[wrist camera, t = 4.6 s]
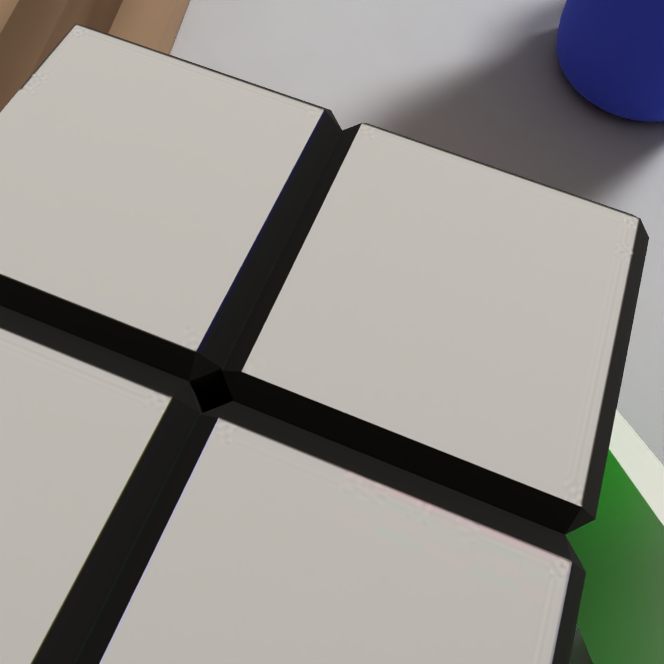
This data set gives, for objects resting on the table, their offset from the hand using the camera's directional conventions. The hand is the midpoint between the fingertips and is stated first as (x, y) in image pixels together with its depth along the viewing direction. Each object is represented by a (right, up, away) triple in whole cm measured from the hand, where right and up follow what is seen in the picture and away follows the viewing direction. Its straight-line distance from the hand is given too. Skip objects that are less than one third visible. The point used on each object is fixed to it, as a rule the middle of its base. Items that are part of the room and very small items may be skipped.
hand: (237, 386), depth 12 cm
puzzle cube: (0, -3, +5) cm, 6 cm away
